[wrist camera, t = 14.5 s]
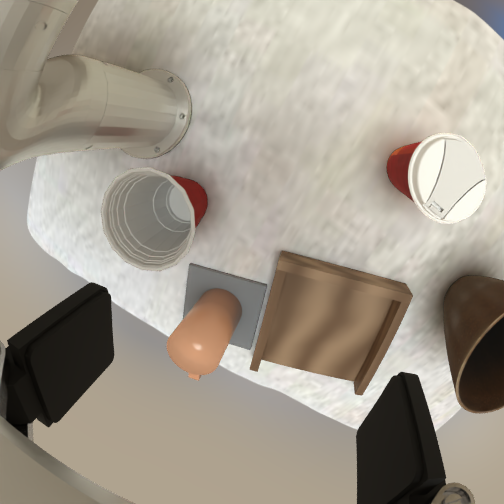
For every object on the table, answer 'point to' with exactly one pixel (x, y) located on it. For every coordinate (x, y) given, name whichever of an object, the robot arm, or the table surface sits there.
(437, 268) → the table surface
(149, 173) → the plastic cup
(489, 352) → the plant pot
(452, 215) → the paper cup
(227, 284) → the coaster
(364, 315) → the brown tray
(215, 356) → the tan tapered cylinder
